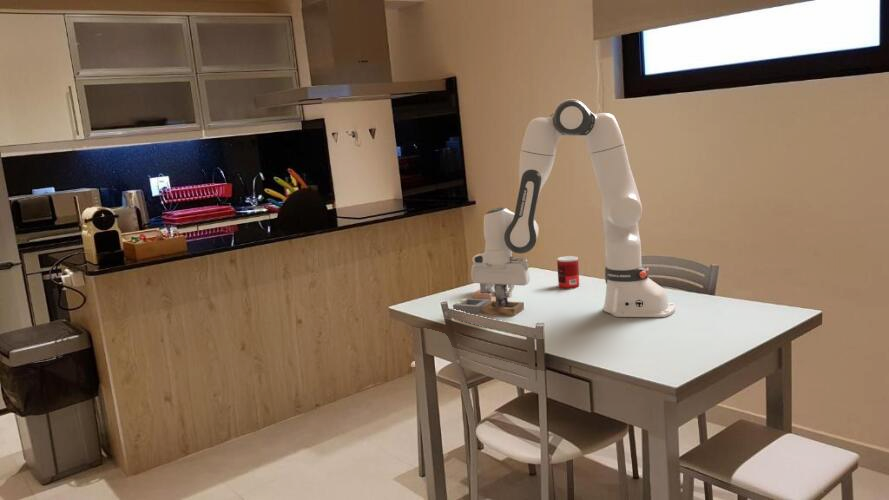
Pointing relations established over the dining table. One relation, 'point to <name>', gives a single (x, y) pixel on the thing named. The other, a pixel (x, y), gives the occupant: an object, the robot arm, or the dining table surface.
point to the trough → (503, 308)
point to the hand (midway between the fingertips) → (501, 296)
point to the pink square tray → (483, 296)
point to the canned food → (568, 272)
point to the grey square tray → (471, 305)
